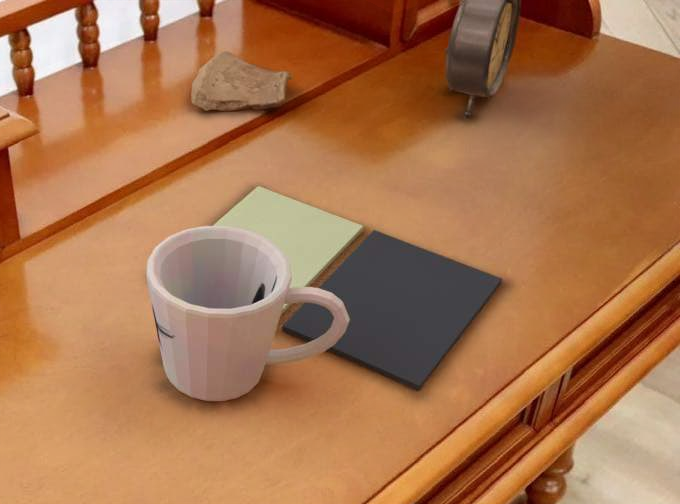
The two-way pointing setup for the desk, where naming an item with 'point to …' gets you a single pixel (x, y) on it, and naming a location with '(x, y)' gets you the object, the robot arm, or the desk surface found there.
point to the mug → (227, 309)
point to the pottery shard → (237, 85)
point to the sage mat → (294, 232)
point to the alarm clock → (481, 47)
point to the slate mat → (397, 308)
